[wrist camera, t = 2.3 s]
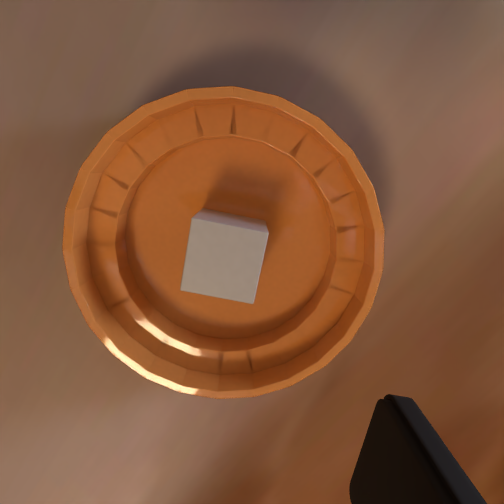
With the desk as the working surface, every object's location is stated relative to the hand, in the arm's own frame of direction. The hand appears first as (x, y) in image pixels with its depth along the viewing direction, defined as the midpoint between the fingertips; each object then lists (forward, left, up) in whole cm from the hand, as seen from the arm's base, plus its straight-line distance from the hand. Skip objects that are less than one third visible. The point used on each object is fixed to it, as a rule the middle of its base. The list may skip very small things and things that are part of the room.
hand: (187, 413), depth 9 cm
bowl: (0, 0, -18) cm, 18 cm away
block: (0, 0, -17) cm, 17 cm away
